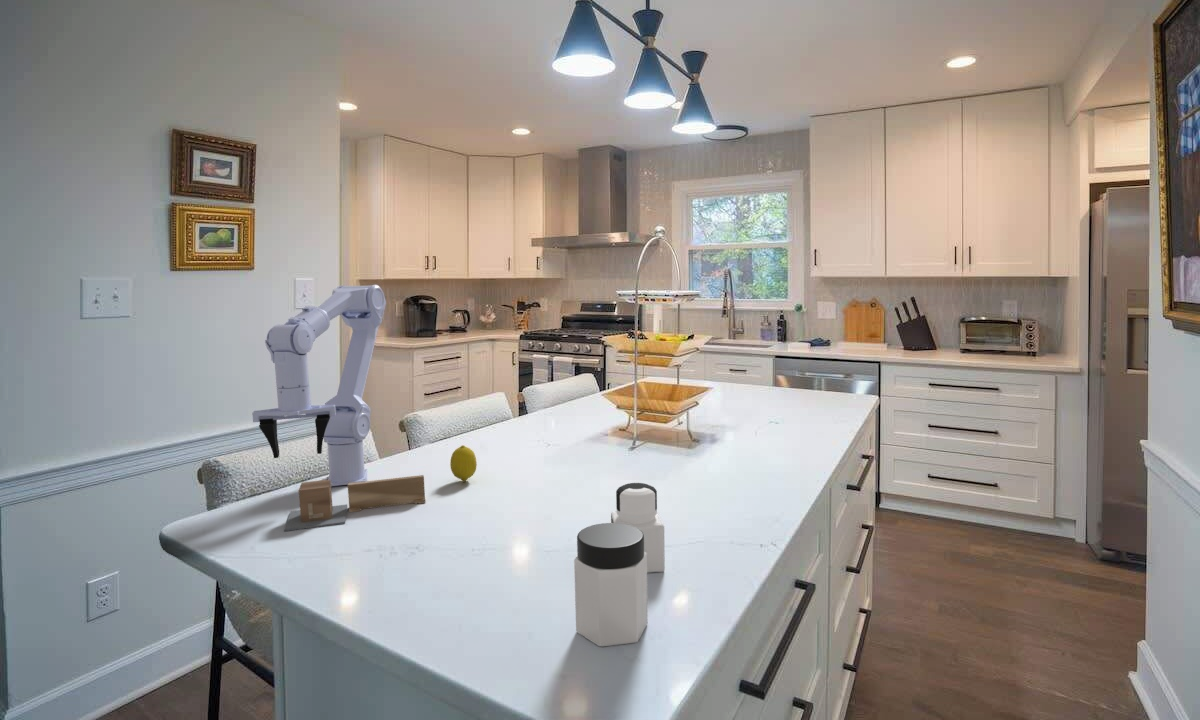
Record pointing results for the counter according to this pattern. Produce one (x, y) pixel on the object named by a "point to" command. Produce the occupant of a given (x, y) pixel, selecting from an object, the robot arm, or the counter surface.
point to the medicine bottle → (642, 520)
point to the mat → (336, 518)
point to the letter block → (315, 500)
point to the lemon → (463, 463)
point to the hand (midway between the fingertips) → (298, 454)
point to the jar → (611, 584)
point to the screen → (386, 492)
